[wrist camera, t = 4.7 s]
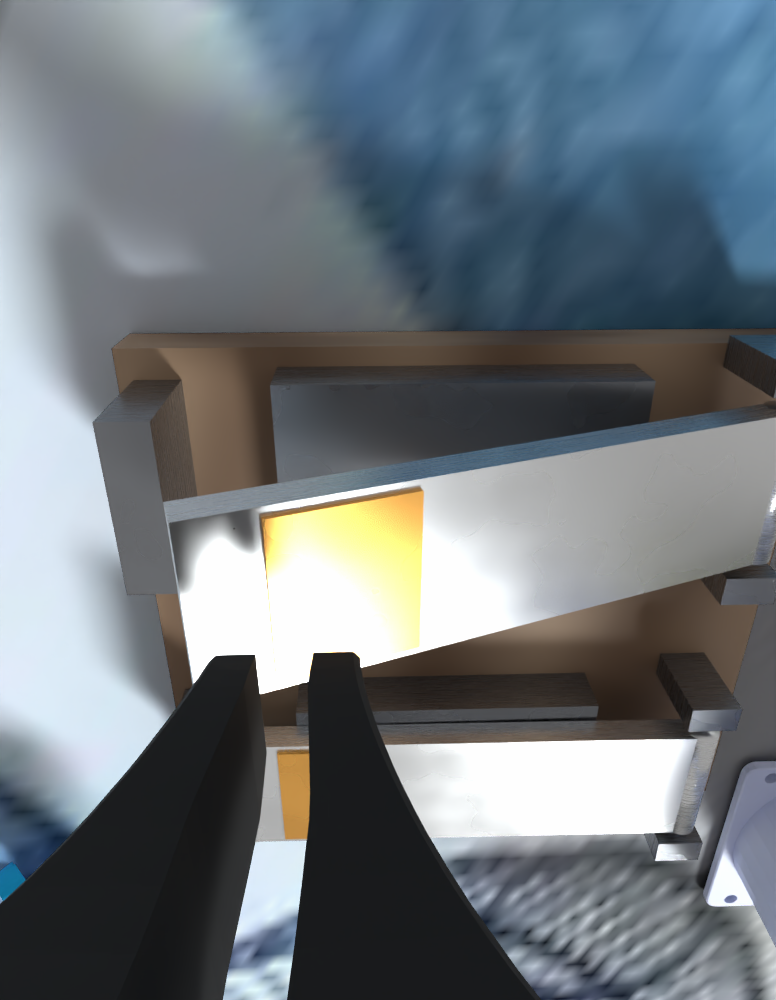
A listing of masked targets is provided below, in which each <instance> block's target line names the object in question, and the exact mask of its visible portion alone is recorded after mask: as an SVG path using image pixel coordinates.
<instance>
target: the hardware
mask: <svg viewBox="0 0 776 1000" xmlns="http://www.w3.org/2000/svg"><path fill="white" fill-rule="evenodd" d="M723 367H724V368H726V369H727V370H729V371H731V372H732V373H734V374H736V375H737V376H739V377H740V378H742V379H744V380H745V381H747V382H748V383H750V384H752V385H753V386H755V387H756V388H758V389H760V390H761V391H763V392H764V393H766V394H768V395H769V396H771V397H772V398H776V335H729V340H728V344H727V349H726V353H725V358H724V363H723ZM655 383H656V381H655V380H654V379H652V378H651V377H650V376H649V375H647V374H646V373H645V372H644V371H643V370H641V369H640V368H639V367H638V366H636V365H635V364H529V365H424V366H320V367H277V368H276V371H275V374H274V376H273V379H272V382H271V384H270V391H271V404H272V416H273V429H274V442H275V454H276V467H277V480H278V483H283V482H289V481H295V480H301V479H307V478H313V477H319V476H325V475H331V474H338V473H344V472H350V471H356V470H362V469H368V468H374V467H380V466H386V465H393V464H399V463H405V462H411V461H417V460H423V459H429V458H435V457H441V456H447V455H454V454H460V453H466V452H472V451H478V450H484V449H490V448H496V447H502V446H509V445H515V444H521V443H527V442H533V441H539V440H545V439H551V438H557V437H564V436H570V435H576V434H582V433H588V432H594V431H600V430H606V429H612V428H619V427H625V426H631V425H637V424H643V423H649V417H650V412H651V406H652V400H653V395H654V389H655ZM93 427H94V432H95V437H96V442H97V447H98V452H99V457H100V462H101V467H102V472H103V477H104V482H105V487H106V492H107V497H108V502H109V507H110V512H111V517H112V522H113V527H114V532H115V537H116V542H117V547H118V552H119V557H120V562H121V567H122V572H123V576H124V581H125V586H126V591H127V595H144V594H178V591H177V585H176V579H175V573H174V566H173V560H172V554H171V548H170V542H169V536H168V529H167V523H166V517H165V511H164V505H163V502H166V501H173V500H179V499H185V498H191V497H197V496H198V495H197V487H196V480H195V473H194V465H193V458H192V451H191V443H190V436H189V429H188V421H187V414H186V407H185V399H184V392H183V385H182V380H133V381H132V382H131V383H130V384H129V385H128V386H127V387H126V388H125V389H124V390H123V391H122V392H121V393H120V394H119V395H118V397H117V398H116V399H115V400H114V401H113V402H112V403H111V404H110V405H109V406H108V407H107V408H106V409H105V410H104V411H103V412H102V413H101V414H100V415H99V416H98V417H97V418H96V419H95V420H94V421H93ZM700 579H701V581H702V582H703V583H704V585H705V586H706V587H707V588H708V590H709V591H710V592H711V594H712V595H713V596H714V597H715V599H716V600H717V601H718V603H719V604H720V605H755V604H774V601H775V598H776V572H775V571H774V570H773V569H772V568H771V567H770V566H769V565H768V564H764V565H750V566H746V567H742V568H738V569H734V570H731V571H727V572H723V573H719V574H715V575H712V576H708V577H704V578H700ZM656 675H657V676H658V678H659V680H660V682H661V684H662V685H663V687H664V689H665V691H666V693H667V695H668V696H669V698H670V700H671V702H672V704H673V705H674V707H675V709H676V711H677V713H678V714H679V716H680V718H681V720H682V722H683V724H684V725H685V727H686V729H687V731H688V732H696V731H736V729H737V726H738V722H739V719H740V716H741V712H742V708H741V707H740V705H739V704H738V702H737V701H736V699H735V698H734V696H733V695H732V693H731V692H730V690H729V689H728V687H727V686H726V684H725V683H724V681H723V680H722V678H721V677H720V675H719V674H718V672H717V671H716V669H715V668H714V666H713V665H712V663H711V662H710V660H709V659H708V657H707V656H706V654H705V653H704V652H703V653H660V656H659V661H658V666H657V670H656ZM363 681H364V685H365V689H366V693H367V697H368V700H369V703H370V706H371V709H372V713H373V716H374V718H375V721H376V724H377V725H386V724H441V723H495V722H550V721H596V719H597V713H598V707H599V706H598V703H597V701H596V699H595V696H594V694H593V691H592V689H591V687H590V684H589V682H588V679H587V677H586V675H585V672H584V673H538V674H493V675H447V676H402V677H363ZM189 690H190V689H185V691H184V694H183V697H182V700H183V698H184V697H185V695H186V694H187V693H188V691H189ZM296 722H297V726H308V681H307V682H304V683H300V684H299V690H298V699H297V707H296ZM644 835H645V838H646V840H647V843H648V845H649V848H650V850H651V853H652V855H653V857H654V860H655V861H668V860H698V857H699V854H700V850H701V847H702V841H701V838H700V836H699V834H698V832H697V830H696V828H695V826H694V828H693V831H692V832H691V833H689V834H687V835H678V834H675V833H673V832H672V833H644Z"/></svg>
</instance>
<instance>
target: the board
mask: <svg viewBox="0 0 776 1000" xmlns="http://www.w3.org/2000/svg"><path fill="white" fill-rule="evenodd" d="M729 335H776V328H769V329H646V330H524V331H402V332H280V333H158V334H129V335H127V336H126V337H125V338H124V339H123V340H121V341H120V342H119V343H118V344H116V345H115V346H114V347H113V348H112V353H113V359H114V365H115V370H116V376H117V381H118V387H119V393H121V392H122V391H123V390H124V389H125V388H126V387H127V386H128V385H129V384H130V383H131V382H132V381H133V380H182V385H183V392H184V399H185V407H186V414H187V421H188V429H189V436H190V443H191V451H192V458H193V465H194V473H195V480H196V487H197V495H198V496H203V495H209V494H215V493H221V492H228V491H234V490H240V489H246V488H252V487H258V486H264V485H270V484H276V483H278V480H277V467H276V454H275V442H274V429H273V416H272V404H271V391H270V384H271V382H272V379H273V376H274V374H275V371H276V368H277V367H320V366H424V365H529V364H635V365H636V366H638V367H639V368H640V369H641V370H643V371H644V372H645V373H646V374H647V375H649V376H650V377H651V378H652V379H654V380H655V381H656V383H655V389H654V395H653V400H652V406H651V412H650V417H649V422H655V421H661V420H667V419H674V418H680V417H686V416H692V415H698V414H704V413H710V412H716V411H722V410H729V409H735V408H741V407H747V406H753V405H759V404H764V403H765V402H767V401H773V400H776V398H772V397H771V396H769V395H768V394H766V393H764V392H763V391H761V390H760V389H758V388H756V387H755V386H753V385H752V384H750V383H748V382H747V381H745V380H744V379H742V378H740V377H739V376H737V375H736V374H734V373H732V372H731V371H729V370H727V369H726V368H724V367H723V363H724V358H725V353H726V349H727V344H728V340H729ZM775 545H776V540H775V543H774V547H773V550H772V554H771V557H770V561H769V562H768V563H767V564H768V565H769V566H770V562H771V559H772V555H773V552H774V548H775ZM156 599H157V605H158V611H159V616H160V622H161V627H162V633H163V639H164V644H165V650H166V655H167V661H168V667H169V672H170V678H171V683H172V689H173V695H174V700H175V706H176V708H177V706H178V705H179V704H180V702H181V701H182V697H183V694H184V691H185V689H190V688H191V687H192V685H193V684H192V678H191V672H190V665H189V659H188V653H187V647H186V641H185V635H184V628H183V622H182V616H181V610H180V604H179V597H178V594H156ZM757 608H758V604H755V605H720V604H719V603H718V601H717V600H716V599H715V597H714V596H713V595H712V594H711V592H710V591H709V590H708V588H707V587H706V586H705V585H704V583H703V582H702V581H701V579H696V580H692V581H689V582H685V583H681V584H677V585H673V586H670V587H666V588H662V589H658V590H654V591H651V592H647V593H643V594H639V595H635V596H631V597H628V598H624V599H620V600H616V601H612V602H609V603H605V604H601V605H597V606H593V607H590V608H586V609H582V610H578V611H574V612H570V613H567V614H563V615H559V616H555V617H551V618H548V619H544V620H540V621H536V622H532V623H528V624H525V625H521V626H517V627H513V628H509V629H506V630H502V631H498V632H494V633H490V634H487V635H483V636H479V637H475V638H471V639H467V640H464V641H460V642H456V643H452V644H448V645H445V646H441V647H437V648H433V649H429V650H426V651H422V652H418V653H414V654H410V655H406V656H403V657H399V658H395V659H391V660H387V661H384V662H380V663H376V664H372V665H368V666H365V667H361V670H362V676H363V677H402V676H447V675H493V674H538V673H584V672H585V675H586V677H587V679H588V682H589V684H590V687H591V689H592V691H593V694H594V696H595V699H596V701H597V703H598V706H599V707H598V713H597V719H596V721H604V720H659V719H681V718H680V716H679V714H678V713H677V711H676V709H675V707H674V705H673V704H672V702H671V700H670V698H669V696H668V695H667V693H666V691H665V689H664V687H663V685H662V684H661V682H660V680H659V678H658V676H657V675H656V670H657V666H658V661H659V656H660V653H703V652H704V653H705V654H706V656H707V657H708V659H709V660H710V662H711V663H712V665H713V666H714V668H715V669H716V671H717V672H718V674H719V675H720V677H721V678H722V680H723V681H724V683H725V684H726V686H727V687H728V689H729V690H730V692H731V693H732V695H733V692H734V688H735V685H736V681H737V678H738V674H739V671H740V667H741V664H742V660H743V657H744V653H745V650H746V646H747V643H748V639H749V636H750V632H751V629H752V625H753V622H754V618H755V615H756V611H757ZM298 690H299V684H296V685H292V686H288V687H284V688H281V689H277V690H273V691H269V692H265V693H262V694H260V697H261V706H262V715H263V724H264V727H278V726H297V722H296V707H297V699H298ZM721 734H722V731H720V737H721ZM720 737H719V740H718V744H719V741H720ZM718 744H717V747H716V751H717V748H718ZM716 751H715V754H714V758H715V755H716ZM714 758H713V761H712V765H713V762H714ZM712 765H711V768H710V772H711V769H712ZM710 772H709V775H708V779H709V776H710ZM708 779H707V782H706V786H707V783H708ZM706 786H705V789H704V791H705V790H706Z"/></svg>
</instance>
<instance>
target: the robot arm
mask: <svg viewBox="0 0 776 1000" xmlns="http://www.w3.org/2000/svg"><path fill="white" fill-rule="evenodd" d="M308 730H309V773H310V806H309V825H308V834H307V843H306V852H305V861H304V871H303V880H302V888H301V896H300V904H299V913H298V921H297V929H296V937H295V946H294V953H293V961H292V968H291V975H290V983H289V990H288V997H287V1000H541V999H540V998H539V996H538V995H537V994H536V993H535V991H534V990H533V989H532V987H531V986H530V985H529V984H528V982H527V981H526V980H525V979H524V977H523V976H522V975H521V973H520V972H519V971H518V970H517V968H516V967H515V965H514V964H513V963H512V961H511V960H510V958H509V957H508V956H507V954H506V953H505V951H504V950H503V949H502V947H501V946H500V944H499V943H498V942H497V940H496V939H495V937H494V936H493V935H492V933H491V932H490V930H489V929H488V928H487V926H486V925H485V923H484V922H483V921H482V919H481V918H480V916H479V915H478V914H477V912H476V911H475V909H474V908H473V907H472V905H471V904H470V902H469V901H468V899H467V897H466V896H465V894H464V893H463V891H462V890H461V888H460V886H459V885H458V883H457V882H456V880H455V879H454V877H453V875H452V874H451V872H450V871H449V869H448V868H447V866H446V864H445V863H444V861H443V859H442V857H441V856H440V854H439V852H438V851H437V849H436V847H435V846H434V844H433V842H432V841H431V839H430V837H429V835H428V833H427V832H426V830H425V828H424V826H423V824H422V823H421V821H420V819H419V817H418V815H417V813H416V811H415V809H414V807H413V805H412V803H411V801H410V799H409V797H408V795H407V793H406V791H405V789H404V787H403V785H402V783H401V781H400V779H399V777H398V775H397V772H396V770H395V768H394V766H393V764H392V761H391V759H390V756H389V754H388V752H387V749H386V747H385V744H384V742H383V739H382V737H381V734H380V732H379V729H378V727H377V724H376V721H375V718H374V716H373V713H372V709H371V706H370V703H369V700H368V697H367V693H366V689H365V685H364V681H363V676H362V670H361V658H360V657H359V656H358V655H357V654H356V653H354V652H314V653H313V656H312V661H311V666H310V672H309V678H308ZM266 755H267V750H266V741H265V733H264V724H263V715H262V706H261V697H260V688H259V679H258V670H257V661H256V654H233V655H215V656H214V657H213V658H212V659H211V660H210V661H209V662H208V663H207V665H206V666H205V668H204V669H203V671H202V672H201V674H200V675H199V677H198V678H197V680H196V681H195V682H194V684H193V685H192V687H191V688H190V690H189V691H188V693H187V694H186V695H185V697H184V698H183V700H182V701H181V702H180V704H179V705H178V706H177V708H176V709H175V711H174V712H173V713H172V715H171V716H170V717H169V719H168V720H167V721H166V723H165V724H164V725H163V727H162V728H161V729H160V730H159V732H158V733H157V734H156V736H155V737H154V738H153V739H152V741H151V742H150V743H149V745H148V746H147V747H146V748H145V750H144V751H143V752H142V754H141V755H140V756H139V757H138V759H137V760H136V761H135V762H134V764H133V765H132V766H131V767H130V768H129V770H128V771H127V772H126V773H125V774H124V775H123V777H122V778H121V779H120V780H119V781H118V782H117V784H116V785H115V786H114V787H113V788H112V789H111V790H110V792H109V793H108V794H107V795H106V796H105V797H104V799H103V800H102V801H101V802H100V803H99V804H98V805H97V807H96V808H95V809H94V810H93V811H92V812H91V813H90V815H89V816H88V817H87V818H86V819H85V820H84V821H83V822H82V823H81V824H80V825H79V826H78V828H77V829H76V830H75V831H74V832H73V833H72V834H71V835H70V836H69V837H68V838H67V839H66V840H65V841H64V842H63V843H62V844H61V845H60V846H59V848H58V849H57V850H56V851H55V852H54V853H53V854H52V855H51V856H50V857H49V858H48V859H47V860H46V861H45V862H44V863H43V864H42V865H41V866H40V867H39V868H38V869H37V870H36V871H35V872H34V873H33V874H31V875H30V876H29V877H28V878H27V879H26V880H25V881H24V882H23V883H22V884H21V885H20V886H19V887H18V888H17V889H16V890H14V891H13V892H12V893H11V894H10V895H9V896H8V897H7V898H6V899H5V900H4V901H3V902H1V903H0V1000H223V995H224V989H225V983H226V978H227V972H228V967H229V963H230V958H231V953H232V949H233V944H234V939H235V935H236V930H237V925H238V921H239V916H240V911H241V907H242V902H243V897H244V893H245V888H246V883H247V879H248V874H249V869H250V865H251V860H252V855H253V850H254V846H255V841H256V836H257V831H258V826H259V821H260V815H261V806H262V797H263V787H264V777H265V766H266ZM703 895H704V897H705V900H706V902H707V903H708V904H709V905H711V906H745V905H754V906H755V908H756V910H757V912H758V914H759V916H760V918H761V919H762V921H763V923H764V925H765V927H766V929H767V931H768V933H769V935H770V937H771V939H772V941H773V943H774V945H775V947H776V761H756V762H751V763H749V764H747V765H746V766H744V767H743V769H742V771H741V773H740V776H739V779H738V782H737V786H736V789H735V792H734V795H733V798H732V802H731V805H730V808H729V811H728V814H727V818H726V821H725V824H724V827H723V830H722V834H721V837H720V840H719V843H718V846H717V850H716V853H715V856H714V859H713V862H712V866H711V869H710V872H709V875H708V878H707V882H706V885H705V888H704V891H703Z"/></svg>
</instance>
